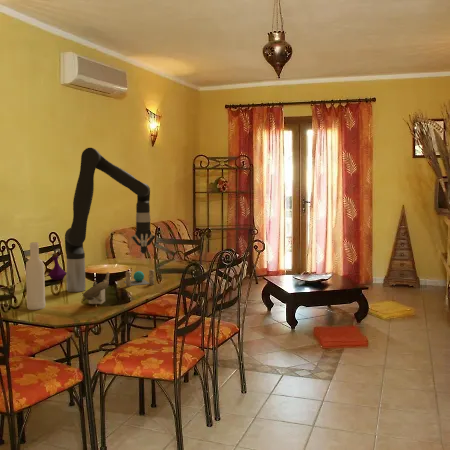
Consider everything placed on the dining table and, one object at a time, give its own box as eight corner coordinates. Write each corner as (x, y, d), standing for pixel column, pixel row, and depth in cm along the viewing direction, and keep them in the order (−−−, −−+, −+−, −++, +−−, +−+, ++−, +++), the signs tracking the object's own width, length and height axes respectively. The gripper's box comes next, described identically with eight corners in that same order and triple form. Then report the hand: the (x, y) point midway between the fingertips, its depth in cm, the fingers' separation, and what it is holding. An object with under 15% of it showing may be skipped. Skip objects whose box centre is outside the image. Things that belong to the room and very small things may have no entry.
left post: (126, 287, 284) (126, 272, 283) (125, 286, 286) (125, 271, 285) (131, 286, 285) (131, 272, 284) (130, 285, 287) (130, 271, 286)
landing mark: (128, 285, 287) (128, 285, 287) (123, 281, 298) (123, 281, 298) (150, 284, 292) (150, 283, 292) (144, 280, 303) (144, 279, 303)
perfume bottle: (47, 279, 302) (46, 249, 301) (57, 277, 309) (56, 247, 307) (57, 281, 299) (56, 250, 297) (67, 278, 305) (66, 248, 304)
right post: (150, 285, 289) (149, 270, 288) (148, 284, 291) (148, 270, 290) (154, 284, 290) (154, 270, 289) (153, 283, 292) (153, 269, 291)
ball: (135, 279, 293) (134, 269, 296) (132, 283, 298) (131, 273, 301) (145, 279, 296) (145, 269, 298) (142, 283, 300) (142, 273, 303)
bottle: (47, 305, 243) (45, 241, 240) (42, 309, 235) (40, 243, 232) (30, 305, 243) (28, 241, 240) (24, 310, 235) (22, 243, 232)
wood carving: (117, 293, 269) (117, 271, 268) (95, 310, 234) (95, 286, 233) (100, 292, 270) (100, 271, 268) (76, 310, 235) (75, 285, 234)
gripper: (153, 220, 283) (153, 251, 285) (129, 220, 278) (129, 253, 280) (157, 221, 276) (157, 253, 278) (132, 222, 271) (133, 255, 273)
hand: (143, 253), depth 279 cm, fingers closed
